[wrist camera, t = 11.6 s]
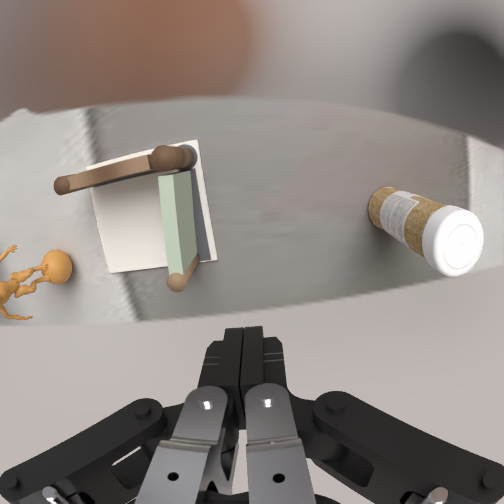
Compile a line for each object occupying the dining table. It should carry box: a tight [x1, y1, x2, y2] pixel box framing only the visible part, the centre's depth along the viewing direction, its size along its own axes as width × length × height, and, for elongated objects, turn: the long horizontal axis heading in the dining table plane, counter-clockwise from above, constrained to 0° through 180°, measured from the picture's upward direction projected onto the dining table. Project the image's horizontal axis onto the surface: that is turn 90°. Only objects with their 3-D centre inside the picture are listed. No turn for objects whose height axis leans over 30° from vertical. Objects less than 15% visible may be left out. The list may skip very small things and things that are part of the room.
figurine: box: [0, 245, 72, 320], centre depth 26 cm, size 8×6×12 cm
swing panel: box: [158, 171, 200, 292], centre depth 26 cm, size 9×2×6 cm, turn 3°
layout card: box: [86, 140, 218, 273], centre depth 29 cm, size 12×12×1 cm
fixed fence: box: [54, 145, 194, 195], centre depth 25 cm, size 12×2×7 cm, turn 98°
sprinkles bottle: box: [368, 187, 483, 277], centre depth 22 cm, size 5×5×13 cm
